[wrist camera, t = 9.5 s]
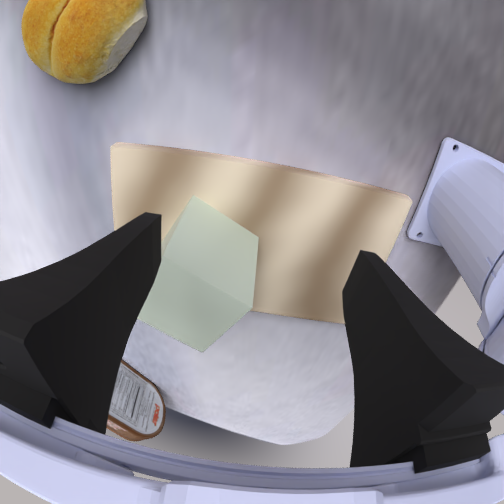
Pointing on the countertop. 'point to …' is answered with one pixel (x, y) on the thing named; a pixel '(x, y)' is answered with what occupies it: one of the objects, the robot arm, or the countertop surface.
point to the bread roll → (81, 35)
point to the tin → (135, 406)
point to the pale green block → (202, 277)
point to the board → (267, 218)
